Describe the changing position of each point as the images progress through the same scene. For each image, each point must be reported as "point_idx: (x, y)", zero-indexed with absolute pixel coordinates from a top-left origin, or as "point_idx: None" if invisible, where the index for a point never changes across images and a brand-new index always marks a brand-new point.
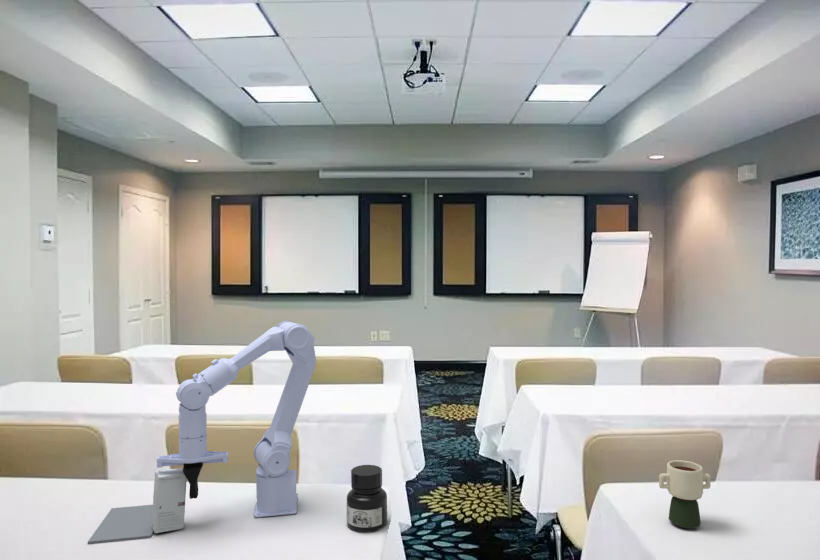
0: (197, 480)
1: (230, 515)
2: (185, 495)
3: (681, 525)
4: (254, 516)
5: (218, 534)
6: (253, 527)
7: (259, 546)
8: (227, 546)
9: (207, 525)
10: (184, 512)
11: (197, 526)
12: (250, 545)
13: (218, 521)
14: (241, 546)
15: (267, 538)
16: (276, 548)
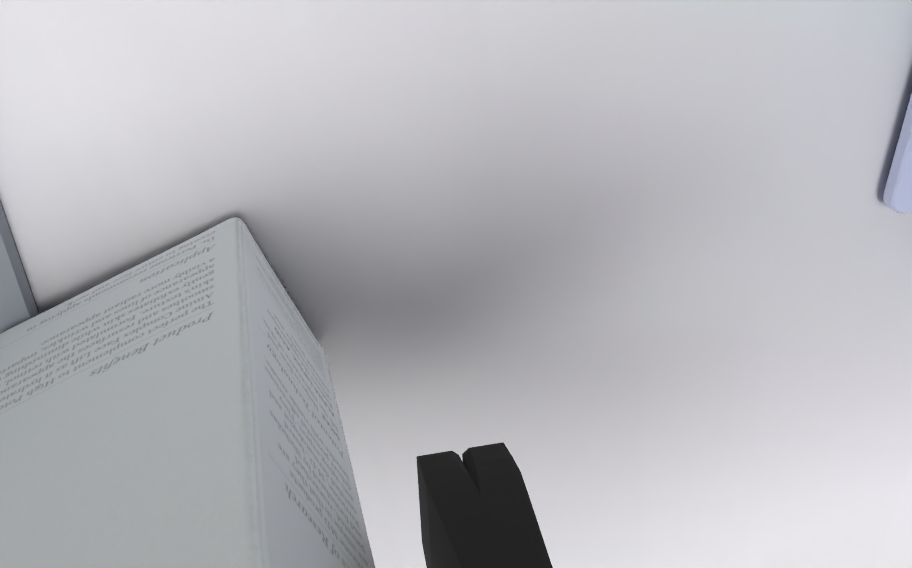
0: (549, 564)
1: (698, 112)
2: (372, 561)
3: None
4: (887, 203)
5: (605, 420)
6: (838, 341)
7: (824, 543)
8: (661, 546)
9: (511, 285)
10: (341, 429)
11: (429, 295)
12: (782, 535)
13: (596, 222)
14: (735, 545)
15: (883, 472)
16: (897, 558)
